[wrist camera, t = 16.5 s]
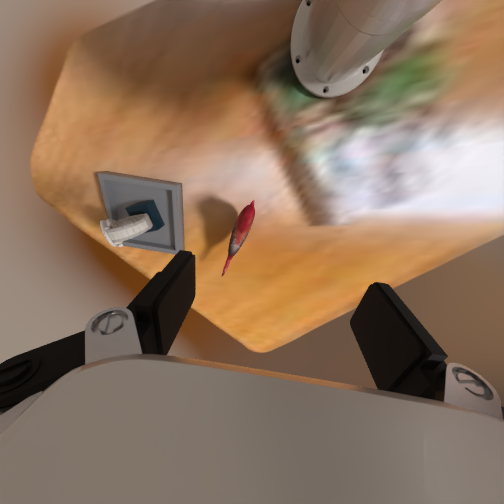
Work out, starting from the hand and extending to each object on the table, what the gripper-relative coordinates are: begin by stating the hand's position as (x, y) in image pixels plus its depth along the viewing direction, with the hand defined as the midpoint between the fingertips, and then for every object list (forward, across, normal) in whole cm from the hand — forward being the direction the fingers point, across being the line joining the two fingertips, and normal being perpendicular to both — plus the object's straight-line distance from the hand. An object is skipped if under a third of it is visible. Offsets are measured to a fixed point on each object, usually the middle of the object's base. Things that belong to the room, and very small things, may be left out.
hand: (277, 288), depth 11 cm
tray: (+30, +25, +10) cm, 41 cm away
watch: (+30, +24, +10) cm, 40 cm away
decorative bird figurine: (+31, +5, +10) cm, 32 cm away
